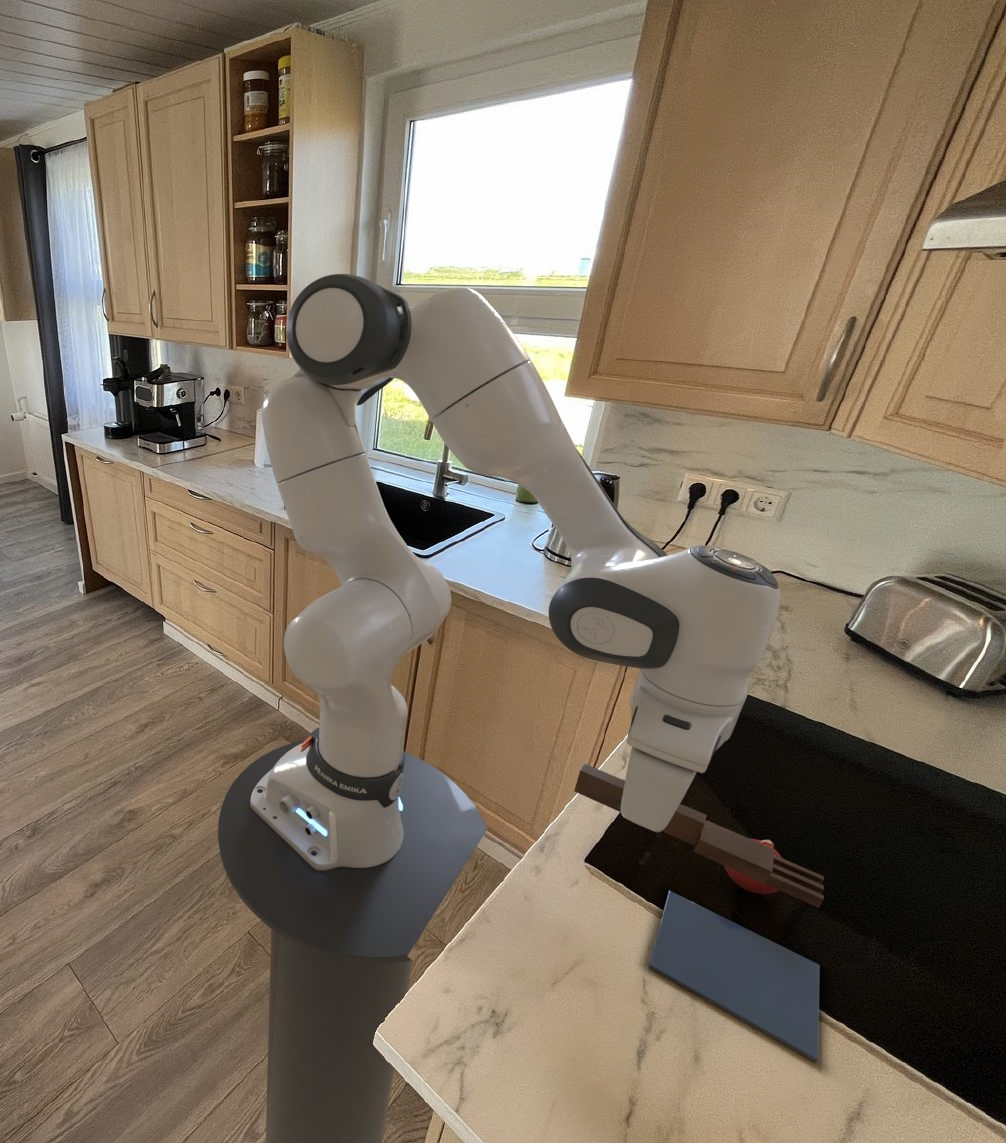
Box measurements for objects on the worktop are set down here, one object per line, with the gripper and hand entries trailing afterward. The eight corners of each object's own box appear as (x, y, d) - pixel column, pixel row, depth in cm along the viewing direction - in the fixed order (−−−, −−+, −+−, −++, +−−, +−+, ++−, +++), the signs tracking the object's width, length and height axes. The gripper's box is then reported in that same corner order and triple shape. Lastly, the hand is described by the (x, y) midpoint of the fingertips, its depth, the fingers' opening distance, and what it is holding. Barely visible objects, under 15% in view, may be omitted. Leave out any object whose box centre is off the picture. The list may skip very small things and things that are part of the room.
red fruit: (715, 892, 75) (737, 845, 72) (715, 860, 80) (736, 814, 76) (776, 918, 72) (801, 869, 69) (772, 882, 77) (796, 835, 73)
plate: (648, 967, 67) (649, 964, 67) (668, 893, 75) (669, 890, 75) (816, 1062, 59) (818, 1059, 59) (818, 967, 67) (819, 964, 67)
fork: (571, 796, 72) (577, 775, 71) (580, 779, 74) (586, 758, 73) (818, 909, 59) (832, 885, 57) (819, 884, 61) (832, 860, 60)
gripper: (665, 651, 72) (634, 745, 77) (625, 740, 58) (591, 847, 63) (732, 671, 68) (694, 768, 74) (707, 771, 54) (662, 882, 60)
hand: (646, 806), depth 68 cm, fingers closed on fork
